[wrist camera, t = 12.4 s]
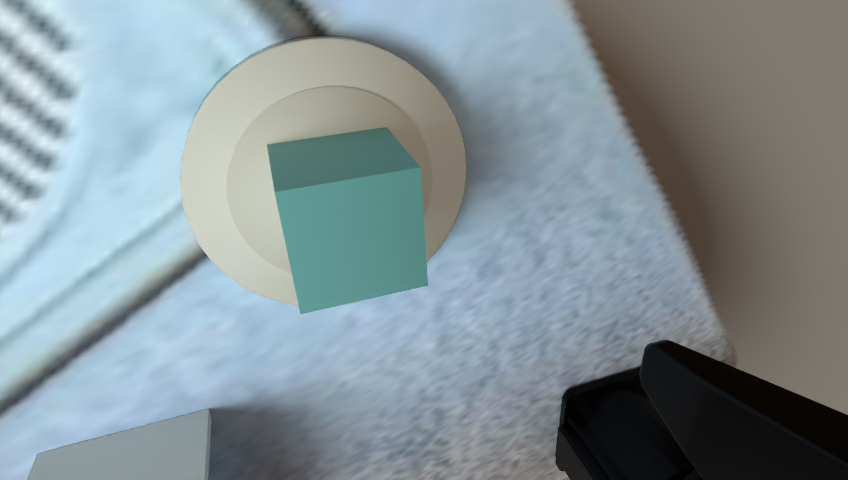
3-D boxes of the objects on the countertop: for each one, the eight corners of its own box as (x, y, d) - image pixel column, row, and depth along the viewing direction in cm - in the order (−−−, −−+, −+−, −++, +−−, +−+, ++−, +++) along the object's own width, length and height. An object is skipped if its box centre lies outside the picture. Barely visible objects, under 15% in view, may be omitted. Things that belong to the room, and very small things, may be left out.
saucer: (453, 20, 18) (465, 24, 17) (460, 264, 23) (470, 278, 22) (140, 54, 16) (134, 61, 15) (223, 317, 21) (223, 335, 20)
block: (386, 126, 18) (420, 167, 15) (395, 229, 20) (427, 285, 17) (266, 144, 17) (274, 192, 14) (289, 249, 19) (300, 314, 16)
